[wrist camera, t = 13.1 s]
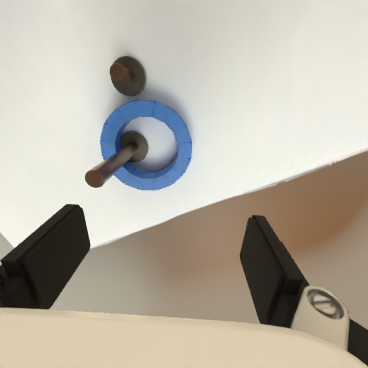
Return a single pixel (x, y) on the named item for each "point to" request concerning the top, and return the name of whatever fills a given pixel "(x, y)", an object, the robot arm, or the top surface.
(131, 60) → the short peg
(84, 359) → the robot arm
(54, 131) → the top surface
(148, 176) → the segmented ring
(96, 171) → the tall peg
